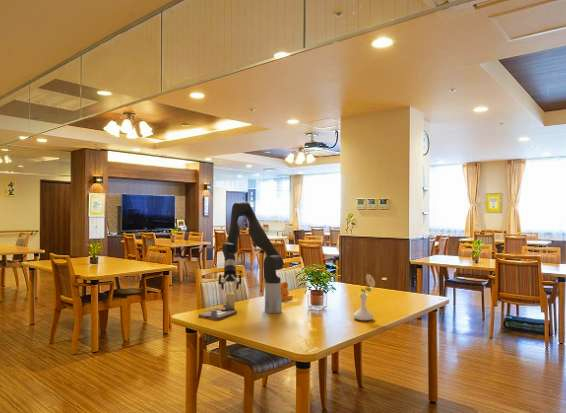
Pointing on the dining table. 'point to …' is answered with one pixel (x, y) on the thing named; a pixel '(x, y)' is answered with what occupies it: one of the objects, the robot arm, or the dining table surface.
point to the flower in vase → (363, 312)
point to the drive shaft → (225, 307)
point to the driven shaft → (214, 313)
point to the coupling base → (218, 314)
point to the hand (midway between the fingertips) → (230, 289)
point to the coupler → (230, 301)
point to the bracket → (285, 291)
